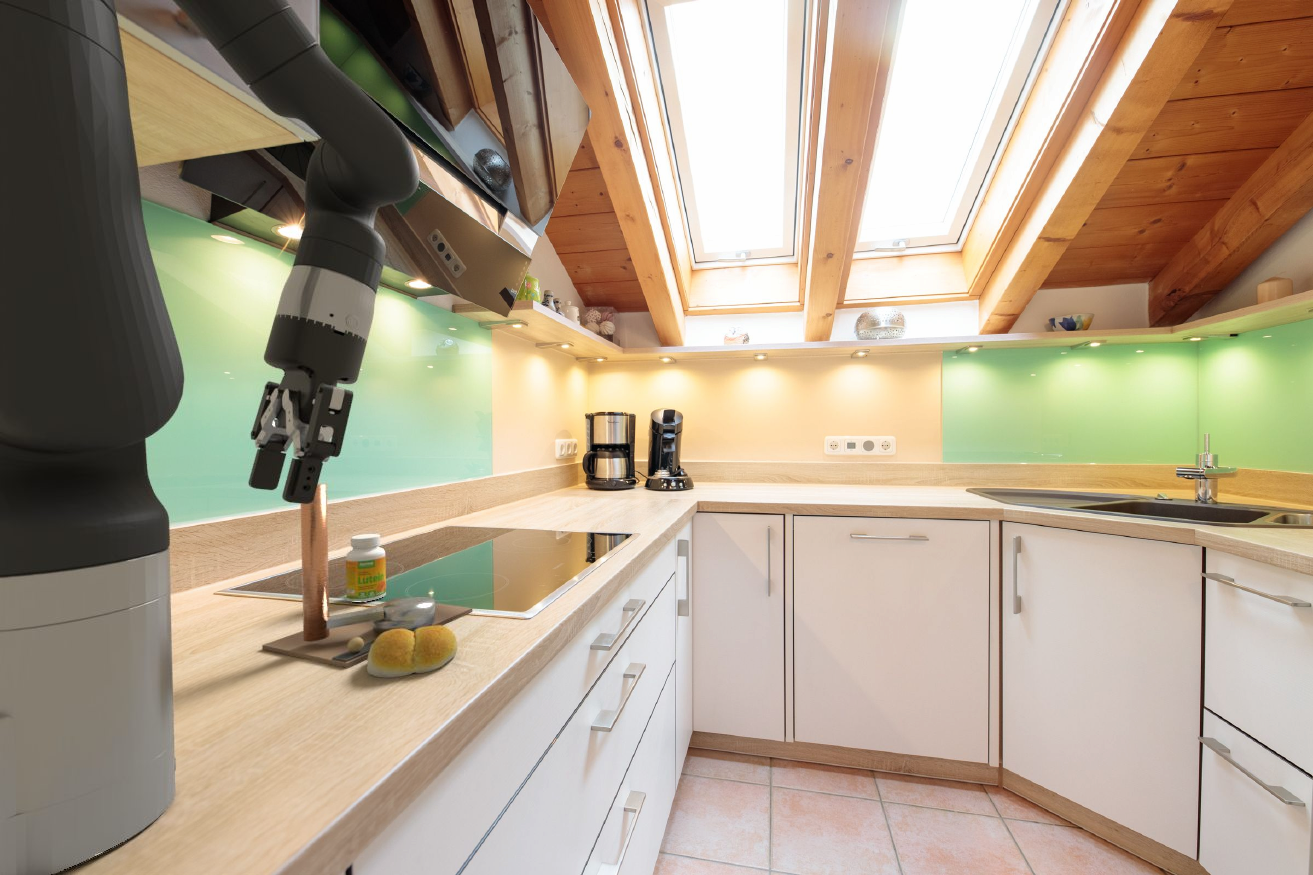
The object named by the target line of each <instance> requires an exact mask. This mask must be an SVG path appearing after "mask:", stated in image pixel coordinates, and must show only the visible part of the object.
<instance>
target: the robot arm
mask: <svg viewBox="0 0 1313 875" xmlns="http://www.w3.org/2000/svg"><path fill="white" fill-rule="evenodd" d="M172 1H173V2H174V3H175V4H176V6H178V8H179V9H180V10H181V11H182V12H183V14H185V16H186V17H187V18H188V19H189V20H190V22H191V23H193V25H195V27H196V28H197V29H198V30H199V31H200V32H201V33H202V35H203V36H204V37H205V38H206V40H207V41H208V42H209V43H210V45H212V47H213V48H214V49H215V50H216V51H217V52H218V54H219V55H220V56H221V57H222V58H223V60H224V61H225V62H226V63H227V64H228V65H229V66H230V67H231V69H232V70H233V71H234V72H235V74H237V76H238V77H239V78H240V80H241V81H242V82H243V83H244V84H245V85H246V86H248V87H249V90H250V91H251V92H253V94H254V95H255V96H256V97H257V99H259V101H260V102H261V103H262V104H263V105H265V107H266V108H268V109H269V110H270V111H271V112H272V113H273V114H275V115H277V116H279V117H283V118H288V119H295V120H299V121H301V122H303V123H304V124H306V126H308V127H309V128H310V129H311V130H312V131H313V132H314V133H315V134H316V135H318V137H319V138H320V139H321V140H320V141H319V142H318V144H316V146H315V148H314V150H313V152H312V154H311V156H310V159H309V162H308V166H307V169H306V177H305V189H304V191H305V192H304V219H305V220H304V228H303V231H302V233H301V236H300V239H299V243H298V246H297V250H296V252H295V257H294V261H293V264H292V267H291V270H290V273H289V275H288V277H287V278H286V281H285V283H284V285H283V288H282V291H281V293H280V298H279V301H278V305H277V309H276V312H275V316H274V318H273V319H274V320H273V322H272V326H271V329H270V334H269V337H268V340H267V343H266V346H265V351H264V355H263V360H264V362H265V364H267V365H269V366H271V367H272V368H275V369H279V370H282V371H283V372H284V373H283V376H282V379H281V381H280V383H279V382H275V381H271V380H270V381H269V380H268V381H267V382H266V384H265V385H264V390H263V393H262V396H261V401H260V402H259V405H258V410H257V413H256V417H255V420H254V423H253V427H252V429H251V431H250V439H251V440H254V444H255V445H254V446H255V447H254V448H257V449H256V454H255V456H254V461H253V464H252V468H251V472H250V475H249V479H248V482H247V483H248V486H249V487H250V488H252V489H257V490H265V491H266V490H267V491H274V490H276V489H277V488H278V487H279V483H280V479H281V475H282V472H283V468H284V464H285V460H286V458H287V453H286V452H288V450H289V448H290V447H291V445H292V446H293V447H292V448H293V449H292V450H293V456H294V458H293V457H292V458H291V461H290V464H289V465H290V466H289V469H288V473H287V476H286V480H285V484H284V487H283V490H282V495H281V497H282V499H283V501H285V502H288V503H293V504H301V503H302V504H309V503H311V502H312V501H313V500H314V496H315V493H316V489H317V485H318V484H319V481H320V477H321V474H322V469H323V465H324V463H327V462H328V461H329V460H330V457H333V458H338V457H339V456H340V455H341V451H342V448H343V444H344V440H345V435H346V430H347V426H348V421H349V417H350V413H351V408H352V404H353V401H354V392H353V390H349V389H346V388H342V387H339V386H338V384H340V385H341V384H343V385H354V384H355V383H356V382H357V381H358V378H359V375H360V372H361V367H362V364H363V360H364V355H365V351H366V348H367V344H368V340H369V336H370V331H371V328H372V324H373V320H374V314H375V303H376V297H377V293H378V289H379V285H380V281H381V278H382V273H383V270H384V264H385V260H386V255H387V249H386V248H387V246H386V242H385V241H384V238H383V237H382V236H381V235H380V233H379V232H378V231H376V230H375V228H374V227H375V220H376V215H377V212H378V209H379V208H381V207H386V206H388V205H393V204H397V203H401V202H404V201H406V200H407V199H409V198H411V197H412V196H413V195H414V193H416V191H417V189H418V187H419V184H420V168H419V162H418V159H417V156H416V153H415V152H414V150H413V147H412V146H411V144H410V142H409V140H408V138H407V137H406V135H405V134H404V133H403V131H402V130H401V129H400V128H399V127H398V125H397V124H396V123H395V122H394V120H392V119H391V118H390V116H389V115H388V114H387V113H385V111H383V109H381V108H380V107H379V106H378V105H377V104H376V103H375V102H374V101H373V99H371V98H370V97H369V96H368V95H367V94H366V93H365V92H364V91H363V90H362V89H361V88H360V87H359V86H358V85H357V84H356V83H355V82H354V81H353V80H352V79H351V78H349V77H348V76H347V75H346V74H345V73H344V72H343V71H341V69H339V68H338V67H337V66H336V65H335V64H334V63H333V62H332V60H330V58H329V57H328V55H327V54H326V53H325V51H324V49H323V48H322V46H321V45H320V44H319V43H317V39H315V37H314V35H313V34H312V33H311V32H310V31H309V29H308V27H307V26H306V25H305V23H304V22H303V21H302V19H301V18H300V17H299V16H298V14H297V12H296V11H295V9H293V7H292V6H291V4H290V3H289V2H288V0H172ZM115 5H116V4H115V1H114V0H0V875H51V874H53V875H55V874H57V873H60V871H61V872H63V871H65V870H64V869H66V870H68V869H70V868H69V867H71V868H73V867H72V866H73V865H76V866H78V865H77V864H79V863H81V862H83V861H85V860H87V859H89V858H91V857H93V856H95V854H98V853H101V852H104V851H106V850H108V849H110V848H111V847H113V848H115V847H117V846H119V845H121V844H122V843H121V842H123V843H125V842H126V841H127V839H128V840H129V839H131V838H132V837H133V836H135V835H137V834H139V833H140V832H141V831H143V830H144V829H146V828H147V827H148V826H150V825H151V824H152V823H153V822H155V821H156V820H157V819H158V818H160V816H161V815H162V814H163V813H164V812H165V811H166V810H167V809H168V808H169V807H170V805H171V804H172V802H173V801H174V799H175V795H176V770H177V768H176V767H177V766H176V765H177V762H176V756H175V723H174V721H175V720H174V715H175V714H174V712H175V711H174V682H173V680H174V678H173V644H172V643H173V641H172V639H173V638H172V636H173V635H172V602H171V601H172V598H171V591H172V589H171V552H170V551H171V549H170V548H171V547H170V545H171V538H170V537H171V535H170V534H171V532H170V531H171V530H170V529H171V528H170V527H171V526H170V517H169V513H168V510H167V509H166V507H165V506H164V504H163V503H162V502H161V500H159V498H158V496H157V495H156V493H155V492H154V488H153V487H152V484H151V480H150V478H149V477H150V476H149V470H148V458H147V444H146V443H147V442H146V439H148V438H150V437H151V436H152V435H154V434H156V433H157V432H159V431H160V430H161V429H162V428H163V427H165V425H167V423H168V422H169V421H170V420H171V419H172V418H173V416H175V413H176V412H177V409H178V408H179V405H180V403H181V401H182V397H183V395H184V387H185V385H184V384H185V374H184V364H183V360H182V359H183V358H182V355H181V352H180V348H179V344H178V340H177V337H176V334H175V333H176V332H175V331H174V327H173V324H172V321H171V318H170V315H169V311H168V308H167V304H166V301H165V298H164V294H163V291H162V288H161V283H160V281H159V276H158V273H157V270H156V267H155V263H154V260H153V254H152V252H151V247H150V244H149V239H148V235H147V231H146V230H147V229H146V225H145V220H144V213H143V212H144V211H143V203H142V194H141V182H140V181H141V180H140V174H139V173H140V172H139V164H138V159H137V158H138V156H137V151H136V150H137V149H136V143H135V138H134V130H133V123H132V119H131V109H130V99H129V98H130V97H129V88H128V78H127V70H126V66H125V64H126V63H125V58H124V57H125V56H124V51H123V45H122V39H121V38H122V37H121V33H120V26H119V20H118V14H117V10H116V6H115ZM172 800H173V801H172ZM125 840H126V841H125ZM120 843H121V844H120ZM118 844H119V845H118ZM116 845H117V846H116ZM114 846H115V847H114ZM110 850H111V849H110ZM108 851H109V850H108ZM106 852H107V851H106ZM104 853H105V852H104ZM89 860H90V859H89ZM87 861H88V860H87ZM85 862H86V861H85ZM83 863H84V862H83ZM81 864H82V863H81ZM79 865H80V864H79ZM67 868H68V869H67Z"/></svg>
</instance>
